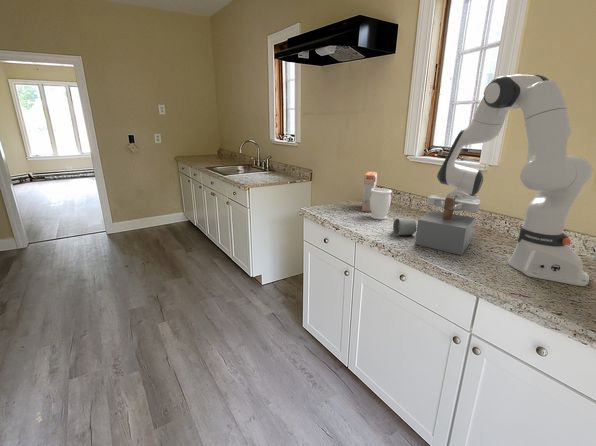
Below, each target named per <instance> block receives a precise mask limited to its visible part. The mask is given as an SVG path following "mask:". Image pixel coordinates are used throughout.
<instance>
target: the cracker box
mask: <svg viewBox="0 0 596 446" xmlns="http://www.w3.org/2000/svg"><path fill="white" fill-rule="evenodd" d="M377 179H378V172H377V171H367V172H366V173H365V174H364V179H363V191H362V201H361V202H362V204H361V212H367V213H371V209H370V197H371V194H372V192H371V189H373V188H377Z"/></svg>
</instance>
